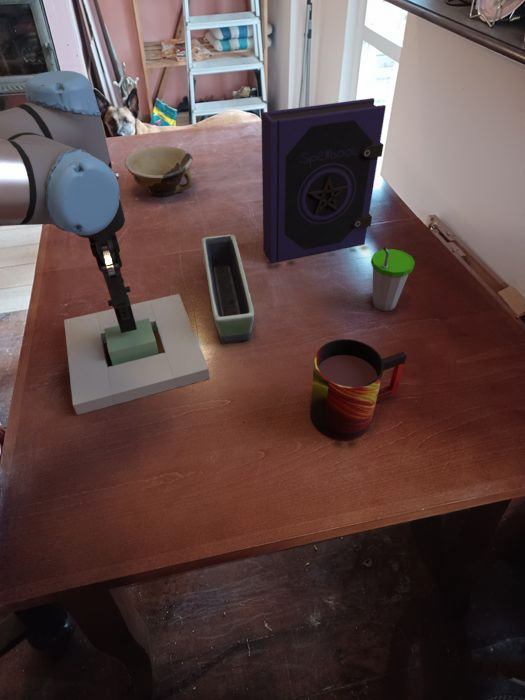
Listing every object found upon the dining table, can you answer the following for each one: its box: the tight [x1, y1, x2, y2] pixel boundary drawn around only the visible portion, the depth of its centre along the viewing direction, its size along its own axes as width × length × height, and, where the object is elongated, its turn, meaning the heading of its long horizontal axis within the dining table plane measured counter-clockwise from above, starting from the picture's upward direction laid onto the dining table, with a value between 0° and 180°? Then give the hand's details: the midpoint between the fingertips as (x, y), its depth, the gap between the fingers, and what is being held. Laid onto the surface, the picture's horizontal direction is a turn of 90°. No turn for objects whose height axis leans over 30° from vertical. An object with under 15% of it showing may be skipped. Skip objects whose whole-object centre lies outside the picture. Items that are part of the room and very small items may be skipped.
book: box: [260, 97, 387, 264], centre depth 100 cm, size 24×6×30 cm, turn 109°
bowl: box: [124, 145, 194, 198], centre depth 128 cm, size 18×18×10 cm
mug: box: [309, 338, 407, 442], centre depth 72 cm, size 10×14×12 cm
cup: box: [370, 246, 416, 312], centre depth 90 cm, size 8×8×15 cm
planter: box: [201, 234, 255, 344], centre depth 94 cm, size 28×7×7 cm, turn 10°
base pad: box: [63, 293, 211, 416], centre depth 85 cm, size 22×22×2 cm
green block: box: [104, 318, 160, 366], centre depth 85 cm, size 8×6×4 cm
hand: (128, 328), depth 82 cm, fingers closed
